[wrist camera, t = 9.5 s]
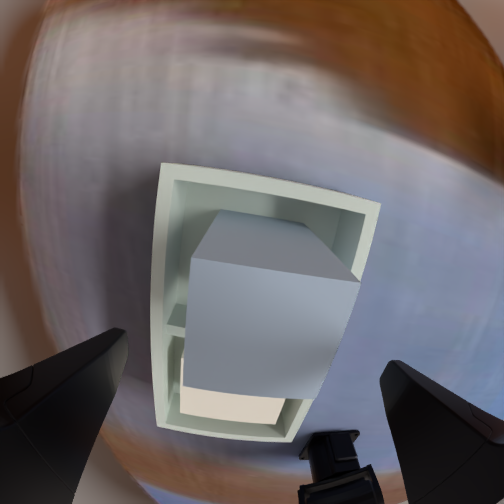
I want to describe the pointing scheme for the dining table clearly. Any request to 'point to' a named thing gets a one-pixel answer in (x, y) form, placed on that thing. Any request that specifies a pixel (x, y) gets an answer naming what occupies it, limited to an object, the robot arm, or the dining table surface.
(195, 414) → the beige rectangular block
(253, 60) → the dining table surface
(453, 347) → the dining table surface
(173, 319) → the divided tray
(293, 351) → the plain light gray block
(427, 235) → the dining table surface
